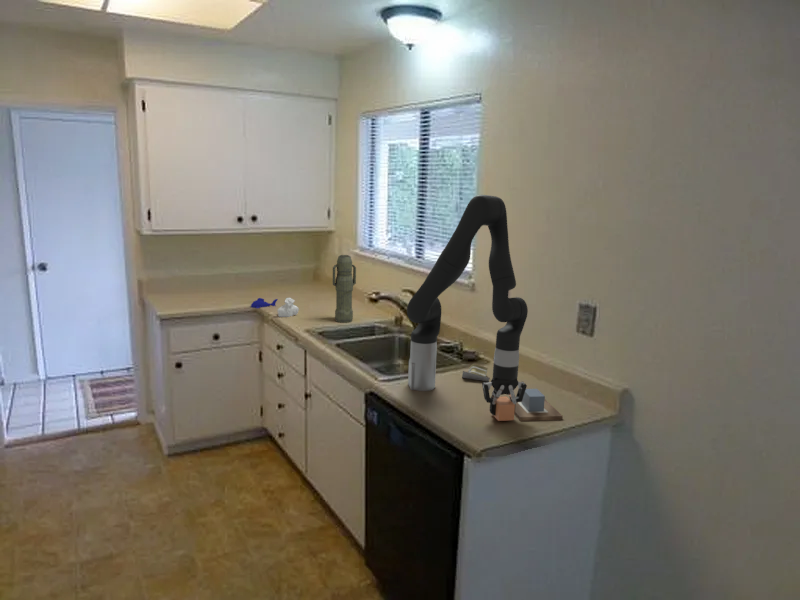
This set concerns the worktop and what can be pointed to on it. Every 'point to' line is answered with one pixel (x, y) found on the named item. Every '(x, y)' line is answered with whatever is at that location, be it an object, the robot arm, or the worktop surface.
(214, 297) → the worktop surface
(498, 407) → the terracotta brick
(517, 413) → the plate
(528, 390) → the slate brick
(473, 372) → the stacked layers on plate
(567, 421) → the worktop surface
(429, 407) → the worktop surface
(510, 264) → the robot arm
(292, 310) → the bust
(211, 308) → the worktop surface
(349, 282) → the thermos
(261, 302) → the fish toy
